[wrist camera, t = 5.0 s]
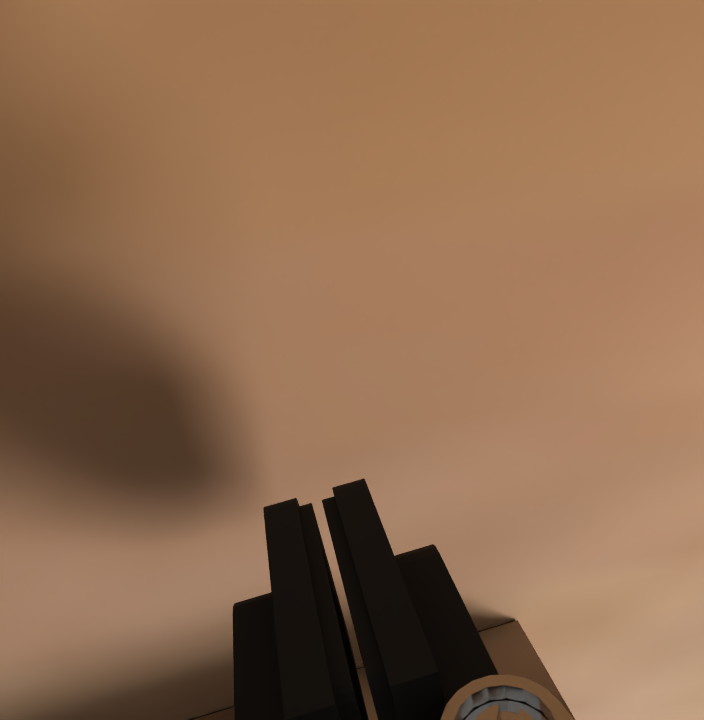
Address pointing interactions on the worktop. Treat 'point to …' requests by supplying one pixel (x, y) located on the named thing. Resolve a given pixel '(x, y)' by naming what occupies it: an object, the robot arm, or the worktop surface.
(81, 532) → the worktop surface
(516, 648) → the brown angled block
